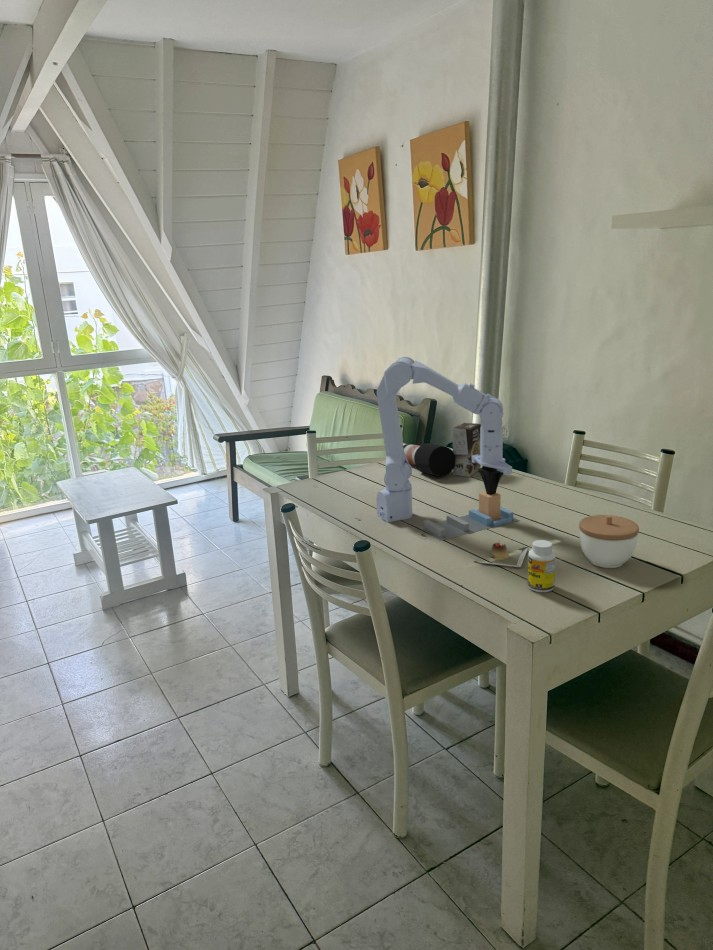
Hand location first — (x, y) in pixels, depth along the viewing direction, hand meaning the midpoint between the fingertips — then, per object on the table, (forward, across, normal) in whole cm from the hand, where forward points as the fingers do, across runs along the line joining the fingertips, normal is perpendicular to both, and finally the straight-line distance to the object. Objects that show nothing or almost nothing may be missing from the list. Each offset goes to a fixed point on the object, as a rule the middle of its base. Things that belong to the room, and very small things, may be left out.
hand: (491, 493), depth 178 cm
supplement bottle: (+8, -37, +15) cm, 41 cm away
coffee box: (+8, +40, -21) cm, 46 cm away
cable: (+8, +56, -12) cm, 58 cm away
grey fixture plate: (+8, 0, +7) cm, 11 cm away
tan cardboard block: (+7, 0, 0) cm, 7 cm away
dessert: (+8, -19, +12) cm, 24 cm away
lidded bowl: (+8, -35, -6) cm, 36 cm away
